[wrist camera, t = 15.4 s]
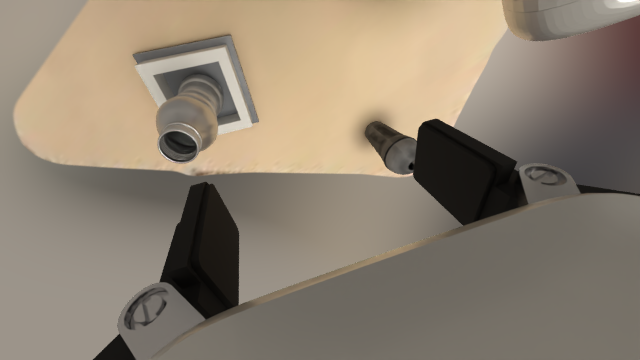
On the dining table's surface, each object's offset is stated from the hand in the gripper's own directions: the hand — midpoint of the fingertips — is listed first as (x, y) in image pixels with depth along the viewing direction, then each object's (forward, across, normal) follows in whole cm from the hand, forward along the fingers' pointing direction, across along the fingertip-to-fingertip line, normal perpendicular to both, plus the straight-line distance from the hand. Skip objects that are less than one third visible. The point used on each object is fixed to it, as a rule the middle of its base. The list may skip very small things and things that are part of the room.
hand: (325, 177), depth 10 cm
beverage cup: (+36, -20, +19) cm, 46 cm away
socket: (+36, +11, +3) cm, 38 cm away
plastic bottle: (+35, +11, +3) cm, 37 cm away
